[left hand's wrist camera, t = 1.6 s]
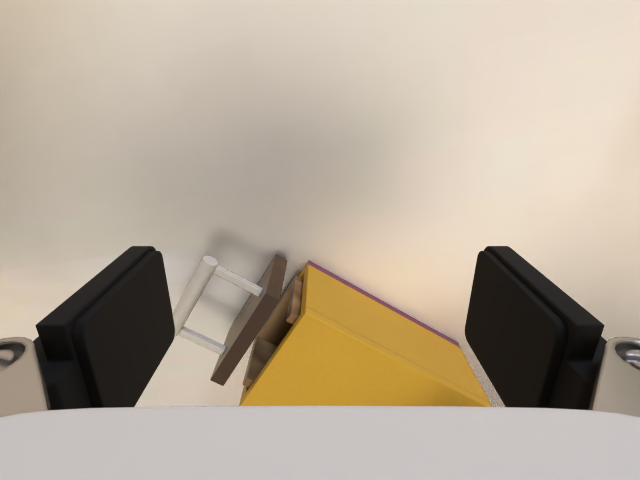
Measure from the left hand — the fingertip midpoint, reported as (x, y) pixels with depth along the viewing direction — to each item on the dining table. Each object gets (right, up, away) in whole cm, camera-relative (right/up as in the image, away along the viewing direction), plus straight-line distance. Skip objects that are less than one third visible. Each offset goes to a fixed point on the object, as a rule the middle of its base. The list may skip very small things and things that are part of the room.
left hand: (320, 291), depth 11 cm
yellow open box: (+4, -9, +28) cm, 30 cm away
